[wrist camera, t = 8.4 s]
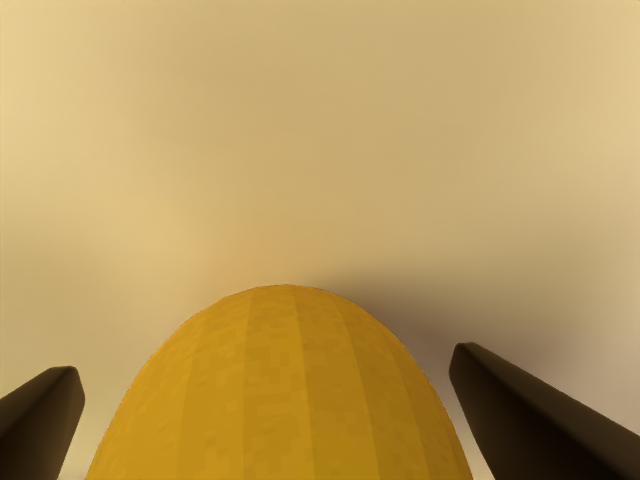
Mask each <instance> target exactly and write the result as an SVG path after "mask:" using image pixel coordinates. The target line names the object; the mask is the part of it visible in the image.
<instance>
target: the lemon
mask: <svg viewBox="0 0 640 480" xmlns="http://www.w3.org/2000/svg"><path fill="white" fill-rule="evenodd" d="M85 480H473V477H472V474H471V471H470V468H469V465H468V462H467V460H466V457H465V454H464V451H463V449H462V446H461V443H460V441H459V439H458V436H457V434H456V432H455V429H454V427H453V424H452V422H451V420H450V418H449V416H448V414H447V412H446V410H445V408H444V406H443V404H442V402H441V400H440V398H439V397H438V395H437V393H436V392H435V390H434V389H433V387H432V385H431V384H430V382H429V380H428V379H427V378H426V376H425V375H424V374H423V372H422V371H421V369H420V368H419V367H418V365H417V364H416V362H415V361H414V360H413V358H412V357H411V356H410V354H409V353H408V352H407V350H406V349H405V347H404V346H403V345H402V343H401V342H400V341H399V340H398V339H397V338H396V337H395V336H394V334H393V333H392V332H391V331H390V330H389V329H388V328H386V327H385V326H384V325H383V324H382V323H381V322H379V321H378V320H377V319H375V318H374V317H373V316H371V315H370V314H369V313H367V312H366V311H365V310H363V309H362V308H361V307H359V306H358V305H356V304H355V303H353V302H351V301H349V300H348V299H345V298H342V297H340V296H337V295H335V294H332V293H329V292H327V291H324V290H322V289H317V288H311V287H303V286H296V285H288V284H286V285H274V286H262V287H256V288H253V289H250V290H247V291H243V292H240V293H237V294H234V295H231V296H228V297H225V298H223V299H221V300H219V301H218V302H216V303H214V304H213V305H211V306H209V307H207V308H206V309H204V310H202V311H201V312H199V313H197V314H196V315H194V316H193V317H192V318H190V319H189V320H187V321H186V322H185V323H184V324H183V325H182V326H181V327H180V328H179V329H178V330H177V331H176V332H175V333H174V334H173V335H172V336H171V337H170V338H169V339H168V340H167V341H166V342H165V343H164V344H163V345H162V346H161V347H160V348H159V349H158V350H157V351H156V352H155V353H154V354H153V355H152V356H151V357H150V359H149V360H148V361H147V363H146V364H145V365H144V367H143V368H142V369H141V371H140V372H139V373H138V375H137V377H136V378H135V380H134V381H133V383H132V385H131V386H130V388H129V389H128V391H127V393H126V395H125V397H124V399H123V401H122V403H121V404H120V406H119V408H118V410H117V412H116V414H115V416H114V418H113V420H112V421H111V423H110V425H109V427H108V429H107V431H106V433H105V435H104V437H103V439H102V441H101V443H100V445H99V447H98V449H97V452H96V454H95V456H94V459H93V461H92V464H91V466H90V468H89V471H88V473H87V476H86V479H85Z"/></svg>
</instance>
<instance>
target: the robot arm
mask: <svg viewBox="0 0 640 480" xmlns="http://www.w3.org/2000/svg"><path fill="white" fill-rule="evenodd" d="M449 377H450V380H451V383H452V385H453V388H454V390H455V393H456V395H457V398H458V400H459V402H460V405H461V407H462V410H463V412H464V415H465V417H466V419H467V422H468V424H469V427H470V429H471V432H472V434H473V436H474V438H475V441H476V443H477V445H478V447H479V449H480V451H481V453H482V455H483V457H484V459H485V461H486V463H487V465H488V467H489V469H490V470H491V472H492V474H493V476H494V478H495V480H640V436H639V435H637V434H635V433H633V432H632V431H630V430H628V429H626V428H625V427H623V426H621V425H619V424H617V423H616V422H614V421H612V420H610V419H609V418H607V417H605V416H603V415H602V414H600V413H598V412H596V411H595V410H593V409H591V408H589V407H587V406H586V405H584V404H582V403H580V402H579V401H577V400H575V399H573V398H572V397H570V396H568V395H566V394H565V393H563V392H561V391H559V390H558V389H556V388H554V387H552V386H550V385H549V384H547V383H545V382H543V381H542V380H540V379H538V378H536V377H535V376H533V375H531V374H529V373H528V372H526V371H524V370H522V369H520V368H519V367H517V366H515V365H513V364H512V363H510V362H508V361H506V360H505V359H503V358H501V357H499V356H498V355H496V354H494V353H492V352H491V351H489V350H487V349H485V348H483V347H482V346H480V345H478V344H476V343H474V342H466V343H458V344H457V345H456V346H455V348H454V352H453V356H452V359H451V363H450V367H449ZM84 405H85V394H84V391H83V387H82V384H81V380H80V377H79V373H78V371H77V369H76V368H75V367H73V366H63V367H52V368H49V369H47V370H46V371H44V372H42V373H41V374H39V375H38V376H36V377H35V378H33V379H31V380H30V381H28V382H27V383H25V384H24V385H22V386H20V387H19V388H17V389H16V390H14V391H13V392H11V393H9V394H8V395H6V396H5V397H3V398H1V399H0V480H57V478H58V475H59V473H60V470H61V467H62V465H63V462H64V459H65V457H66V454H67V451H68V449H69V446H70V443H71V441H72V438H73V435H74V433H75V430H76V427H77V425H78V422H79V419H80V417H81V414H82V411H83V409H84Z"/></svg>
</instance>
